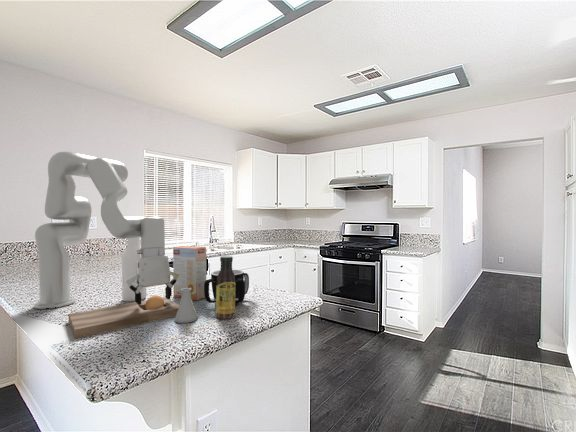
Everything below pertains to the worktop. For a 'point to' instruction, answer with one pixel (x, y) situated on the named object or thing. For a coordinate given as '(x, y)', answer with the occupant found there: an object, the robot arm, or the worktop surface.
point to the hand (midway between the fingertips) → (153, 301)
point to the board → (118, 317)
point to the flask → (186, 308)
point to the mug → (240, 286)
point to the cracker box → (190, 270)
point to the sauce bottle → (225, 289)
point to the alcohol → (131, 269)
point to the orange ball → (154, 302)
